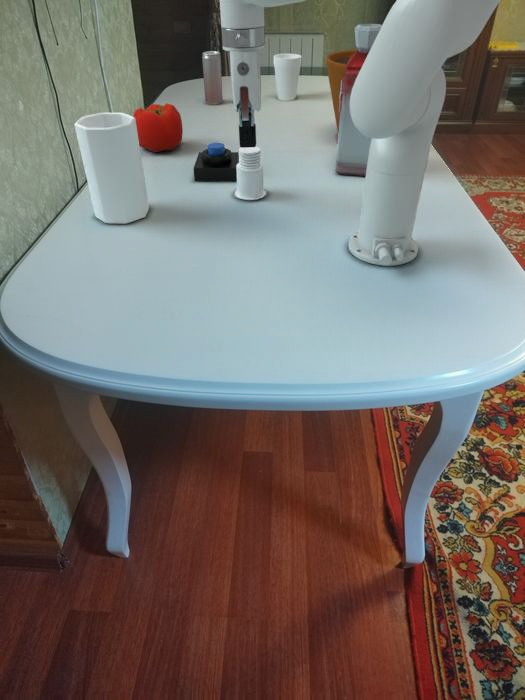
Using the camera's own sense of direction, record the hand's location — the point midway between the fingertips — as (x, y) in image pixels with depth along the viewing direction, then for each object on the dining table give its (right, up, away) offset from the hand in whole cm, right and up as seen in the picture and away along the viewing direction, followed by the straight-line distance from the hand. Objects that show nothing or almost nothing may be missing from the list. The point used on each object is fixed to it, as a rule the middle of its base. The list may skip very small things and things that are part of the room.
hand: (248, 145), depth 101 cm
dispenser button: (-8, +6, +20) cm, 23 cm away
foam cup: (+11, +48, +77) cm, 92 cm away
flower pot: (+32, +20, +44) cm, 58 cm away
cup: (-27, -12, +6) cm, 30 cm away
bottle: (+26, +5, +26) cm, 38 cm away
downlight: (0, -6, +13) cm, 14 cm away
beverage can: (-14, +44, +73) cm, 87 cm away
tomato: (-25, +14, +37) cm, 47 cm away
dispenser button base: (-8, +3, +23) cm, 25 cm away
